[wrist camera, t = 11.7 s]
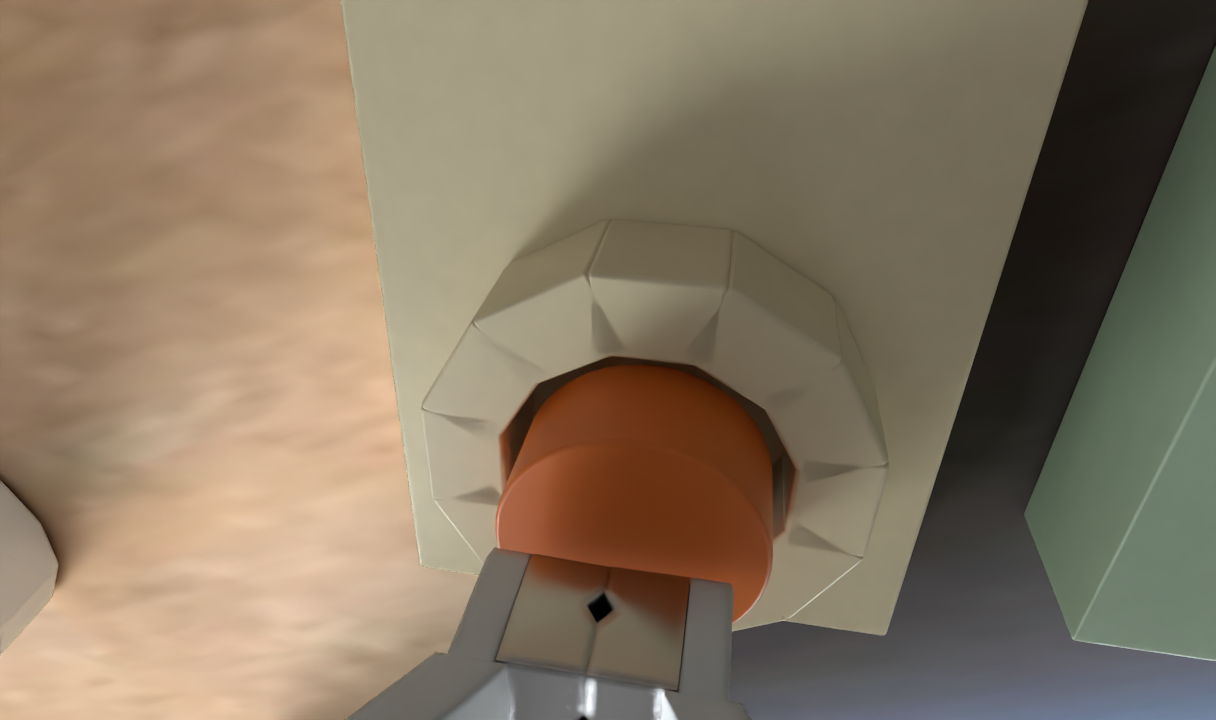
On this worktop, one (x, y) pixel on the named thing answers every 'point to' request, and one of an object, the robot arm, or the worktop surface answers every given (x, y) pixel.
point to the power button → (645, 480)
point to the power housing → (702, 240)
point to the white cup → (22, 567)
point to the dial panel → (1145, 431)
